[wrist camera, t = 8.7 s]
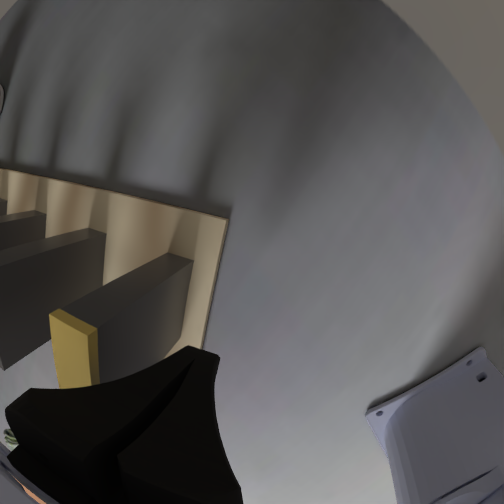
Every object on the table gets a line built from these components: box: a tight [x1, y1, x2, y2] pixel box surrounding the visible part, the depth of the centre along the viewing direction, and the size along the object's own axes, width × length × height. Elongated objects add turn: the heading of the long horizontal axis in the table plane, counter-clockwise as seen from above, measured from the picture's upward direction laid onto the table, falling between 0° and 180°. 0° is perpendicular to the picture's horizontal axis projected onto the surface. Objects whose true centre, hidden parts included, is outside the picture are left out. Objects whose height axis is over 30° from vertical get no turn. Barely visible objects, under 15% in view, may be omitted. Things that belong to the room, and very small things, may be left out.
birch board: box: [0, 168, 229, 359], centre depth 18 cm, size 34×10×1 cm, turn 77°
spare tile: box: [49, 252, 194, 389], centre depth 12 cm, size 2×5×9 cm, turn 166°
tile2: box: [0, 228, 107, 371], centre depth 13 cm, size 2×5×9 cm, turn 167°
